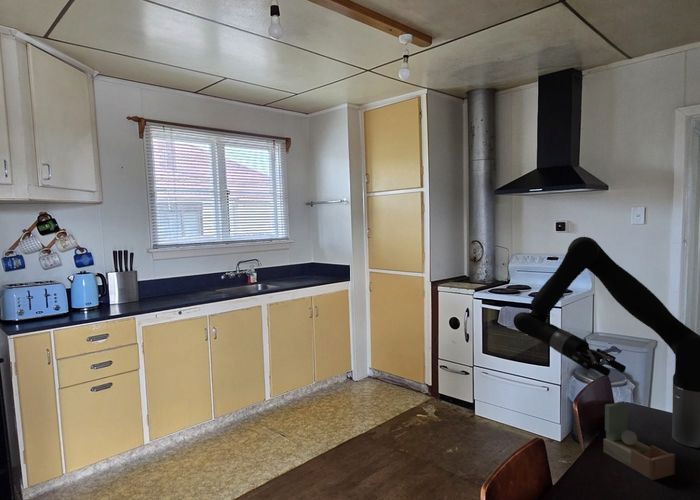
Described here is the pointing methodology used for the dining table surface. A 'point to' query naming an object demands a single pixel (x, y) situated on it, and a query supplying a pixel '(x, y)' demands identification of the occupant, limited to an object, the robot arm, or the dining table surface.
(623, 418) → the green rectangular slab
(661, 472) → the cup
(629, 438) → the ball
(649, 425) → the dining table surface
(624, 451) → the beige open box
